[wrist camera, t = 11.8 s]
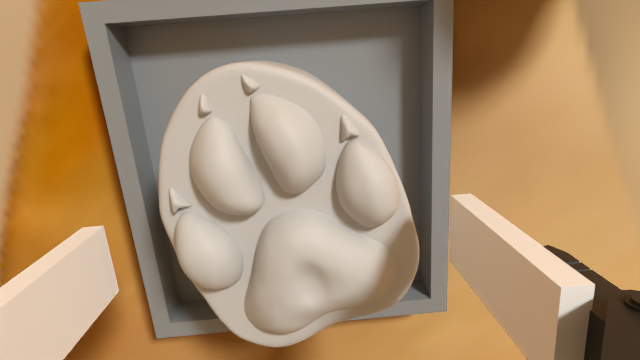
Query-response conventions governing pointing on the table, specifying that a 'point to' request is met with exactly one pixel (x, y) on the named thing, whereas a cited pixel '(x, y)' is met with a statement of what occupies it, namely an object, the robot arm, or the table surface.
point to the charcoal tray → (298, 51)
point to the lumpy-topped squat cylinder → (283, 203)
